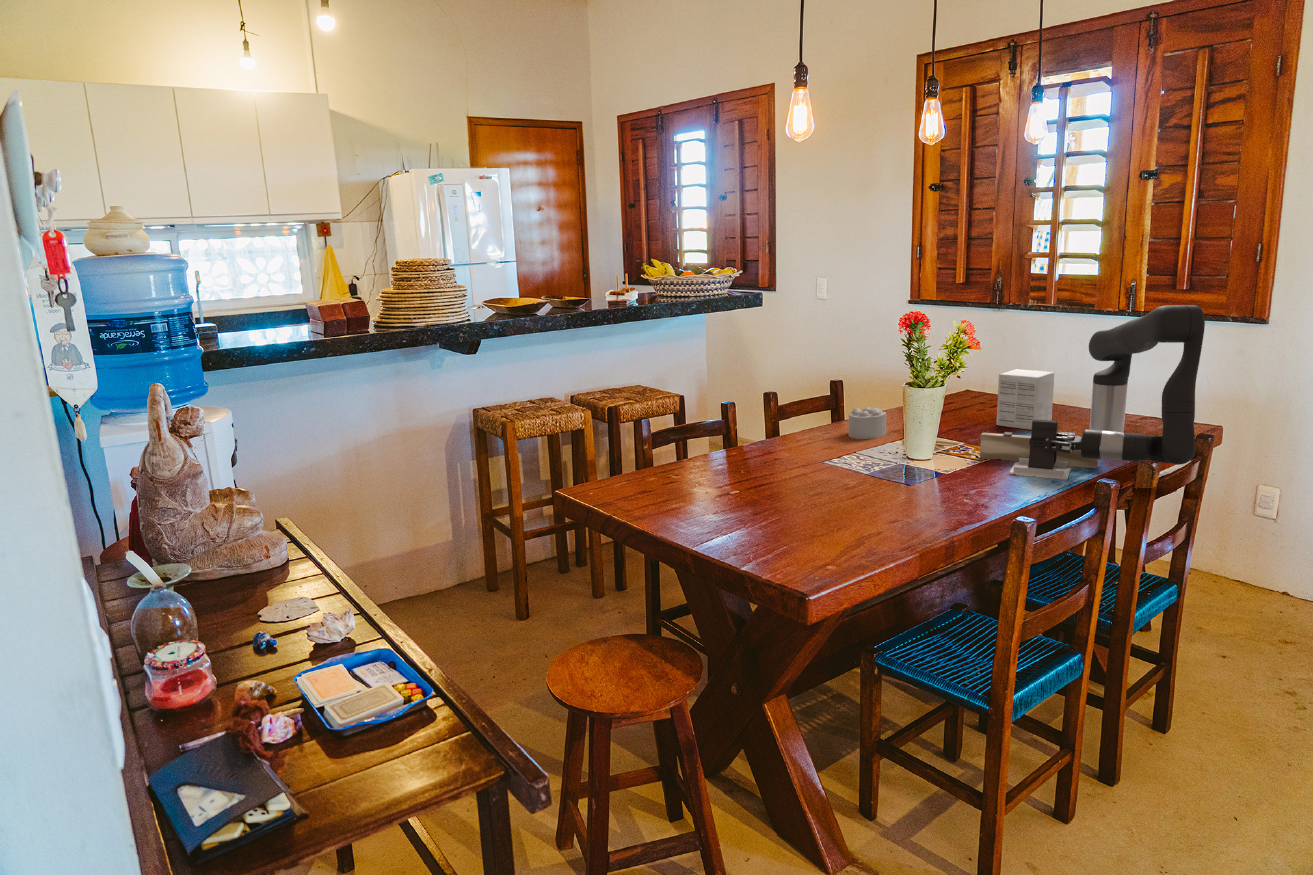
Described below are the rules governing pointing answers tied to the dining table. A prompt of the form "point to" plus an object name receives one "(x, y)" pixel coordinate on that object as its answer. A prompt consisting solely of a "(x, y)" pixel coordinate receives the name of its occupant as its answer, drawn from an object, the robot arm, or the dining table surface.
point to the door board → (1024, 450)
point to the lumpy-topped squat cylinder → (867, 423)
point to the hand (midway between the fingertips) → (1031, 439)
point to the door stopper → (1041, 455)
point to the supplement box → (1024, 398)
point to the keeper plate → (1041, 470)
